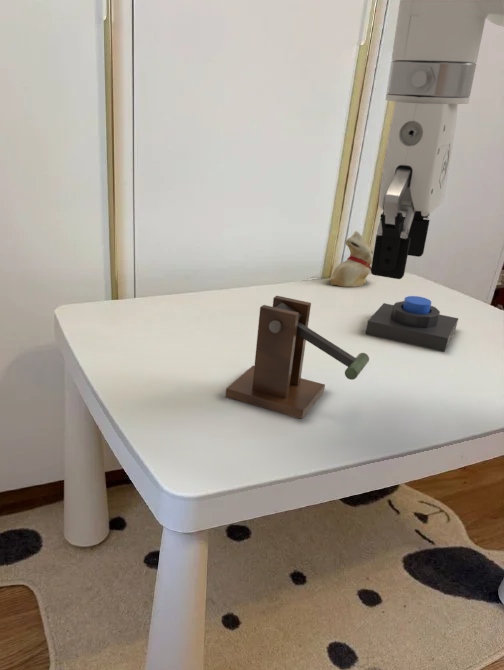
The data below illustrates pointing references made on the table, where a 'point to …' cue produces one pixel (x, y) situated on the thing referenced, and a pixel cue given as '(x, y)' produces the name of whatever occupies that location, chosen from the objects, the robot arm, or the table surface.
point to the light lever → (331, 348)
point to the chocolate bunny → (354, 263)
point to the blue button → (417, 305)
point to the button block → (412, 326)
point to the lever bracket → (279, 363)
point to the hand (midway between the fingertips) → (397, 264)
